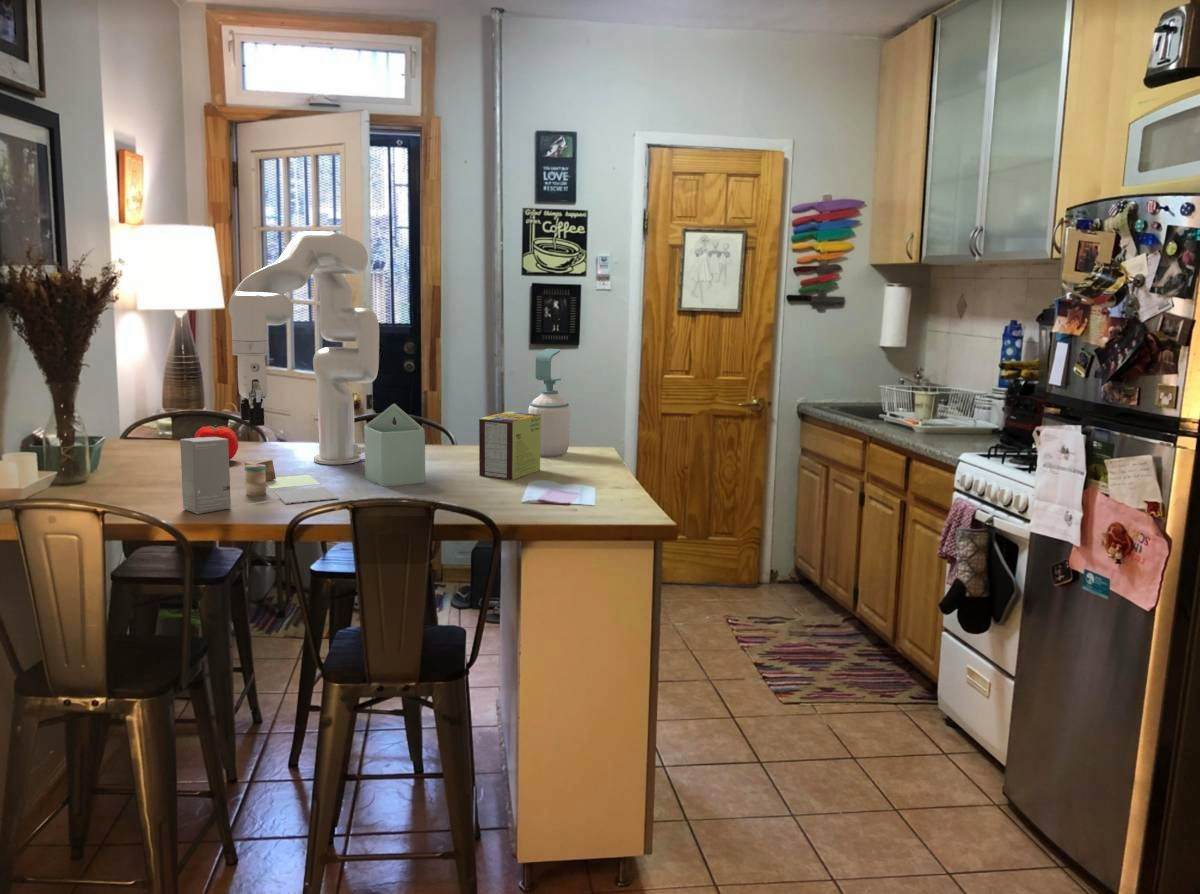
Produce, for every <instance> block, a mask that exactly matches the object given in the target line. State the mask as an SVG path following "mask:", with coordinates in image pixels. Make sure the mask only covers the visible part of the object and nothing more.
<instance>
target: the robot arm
mask: <svg viewBox="0 0 1200 894" xmlns="http://www.w3.org/2000/svg"><path fill="white" fill-rule="evenodd" d="M368 263H369V255H368V251H367V249H366V247H365V245H364V244H363V243H362V242H360V241H359V240H357V239H354V238H352V237H350V236H347V235H345V234H342V233H339V232H335V231H301V232H299V233H297V234H295V236H293V237H292V239H291V241H290V242H289V243H288V244H287V245H286V247H285V249H284V250H283V251H282V253H281V254H280V255H279V257H278V259H277V260H275V262H273V263H271V264H268V265H267V266H265V267H263V268H261V269H259V270H257V271H255V272H252V273H251V274H248V276H246V277H245V278H244V279H243V280H242V281H241V282H240V283H238V285H237V287H236V288H235V289H234V291H233V292H232V294H231V296H230V298H229V301H228V306H227V307H228V314H229V316H230V319H231V321H230V322H231V323H230V325H231V345H232V348H231V349H232V355H233V356H237V384H238V393H239V395H240V419H241V421H248V422H249V423H248V424H249V426H250V427H260V426H261V427H262V426H265V408H264V407H265V406H264V401H263V400H264V399H267V398H268V397H269V391H268V379H267V378H268V377H267V368H266V360H265V359H266V358H265V356H268V327H267V326H282V325H285V324H286V323H288V322H289V321H290V319H291V318H292V316H293V312H294V308H293V307H294V306H293V303H292V302H291V300H290V299H289V298H288V296H286V295H284V294H287V293H290V292H294V291H296V290H300V289H301V288H302V287H304V286H305V285H306V284H307V282H308V281H309V279H310V278H311V276H313V277H314V280H315V281H316V284H317V286H318V292H319V307H318V308H319V310H318V311H319V314H318V315H319V316H318V317H319V318H318V319H319V321H318V322H319V323H318V324H319V333H320V336H321V337H322V339H323V340H325V341H327V342H335V343H349V344H350V343H354V344H357V347H348V346H347V347H346V346H327V347H323V348H320V349H319V350H317V351H316V352H315V354H314V355H313V358H312V366H313V372H314V376H315V381H316V389H317V416H318V417H317V418H318V420H317V421H318V442H319V443H318V445H319V446H318V447H319V451H318V453H319V454H317V455H315V456H313V462H315V463H316V464H321V465H333V466H334V465H347V464H354V463H358V462H360V461H361V460H362V459H361V458H362V457H361V456H362V455H361V454H362V453H364V454H365V445H359V444H357V443H356V441H355V439H356V438H355V402H354V395H353V393H352V391H351V388H349V386H348V383H349V384H351V383H352V384H370V383H373V382H375V380H376V379H377V376H378V372H379V366H380V365H379V363H380V324H379V323H380V322H379V319H378V316H377V314H376V313H375V311H374V310H372V309H370V308H367V307H366V308H365V307H354V306H353V296H352V293H353V292H352V291H353V290H352V287H351V284H350V282H349V281H348V279H347V278H346V277H345V276H344V274H345V275H347V274H349V275H356V274H357V275H358V274H361V273H363V272H364V271H365V270H366V269H367V267H368Z"/></svg>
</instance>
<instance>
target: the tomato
mask: <svg viewBox="0 0 1200 894" xmlns="http://www.w3.org/2000/svg"><path fill="white" fill-rule="evenodd" d="M200 437H202V438H204V437H219V438H225V439H228V447H229V461H230V460H231V459H233V458H234V457H235V456H236V455H237V452H238V449H239V441H238V436H237V434H236V432H234V430H232V429H231V428H230V427H227V426H226V425H221V426H218V425H217V424H215V425H214V426H212V425H208V426H205V425H204V426H201V428H199V429H198V430H197V431H196V432H195V434H194V437H193V438H200Z"/></svg>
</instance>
